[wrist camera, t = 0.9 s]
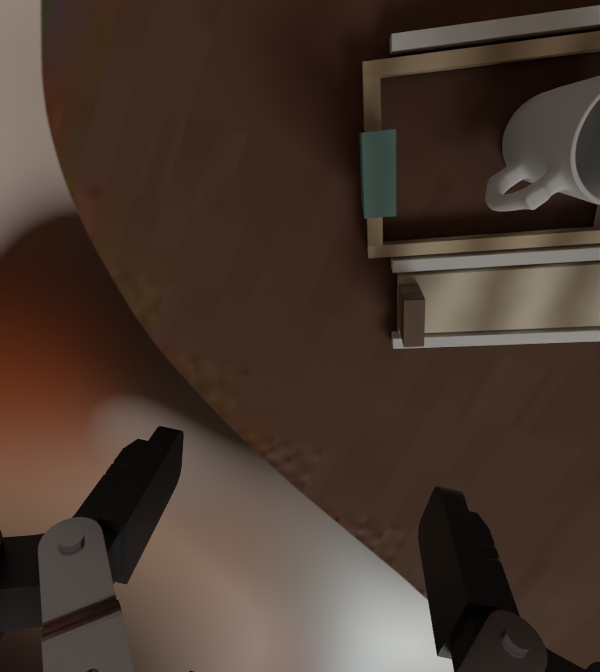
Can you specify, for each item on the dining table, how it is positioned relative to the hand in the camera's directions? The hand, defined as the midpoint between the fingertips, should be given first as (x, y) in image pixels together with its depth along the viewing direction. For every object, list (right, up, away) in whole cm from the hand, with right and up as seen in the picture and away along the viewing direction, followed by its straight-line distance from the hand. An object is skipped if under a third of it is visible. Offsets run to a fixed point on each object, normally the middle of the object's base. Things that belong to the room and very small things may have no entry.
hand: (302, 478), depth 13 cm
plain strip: (+17, +8, +24) cm, 30 cm away
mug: (+17, +19, +19) cm, 32 cm away
